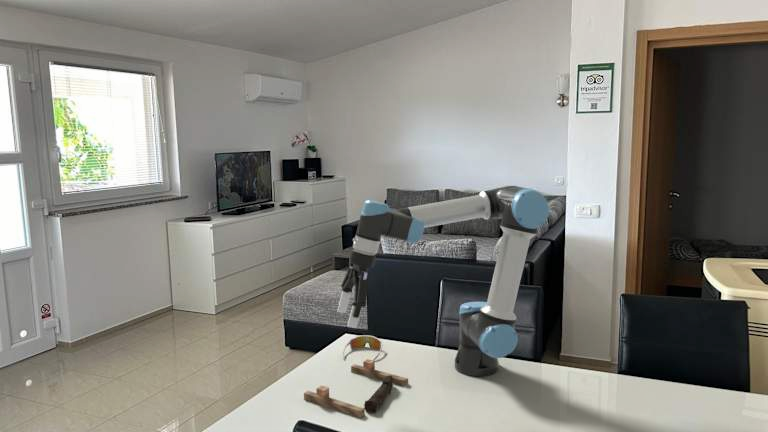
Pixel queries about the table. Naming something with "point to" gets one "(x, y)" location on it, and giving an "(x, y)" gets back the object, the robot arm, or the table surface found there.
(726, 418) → the table surface
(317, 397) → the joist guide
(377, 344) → the sunglasses
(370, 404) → the dark brown wooden log
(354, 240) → the robot arm
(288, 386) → the table surface
